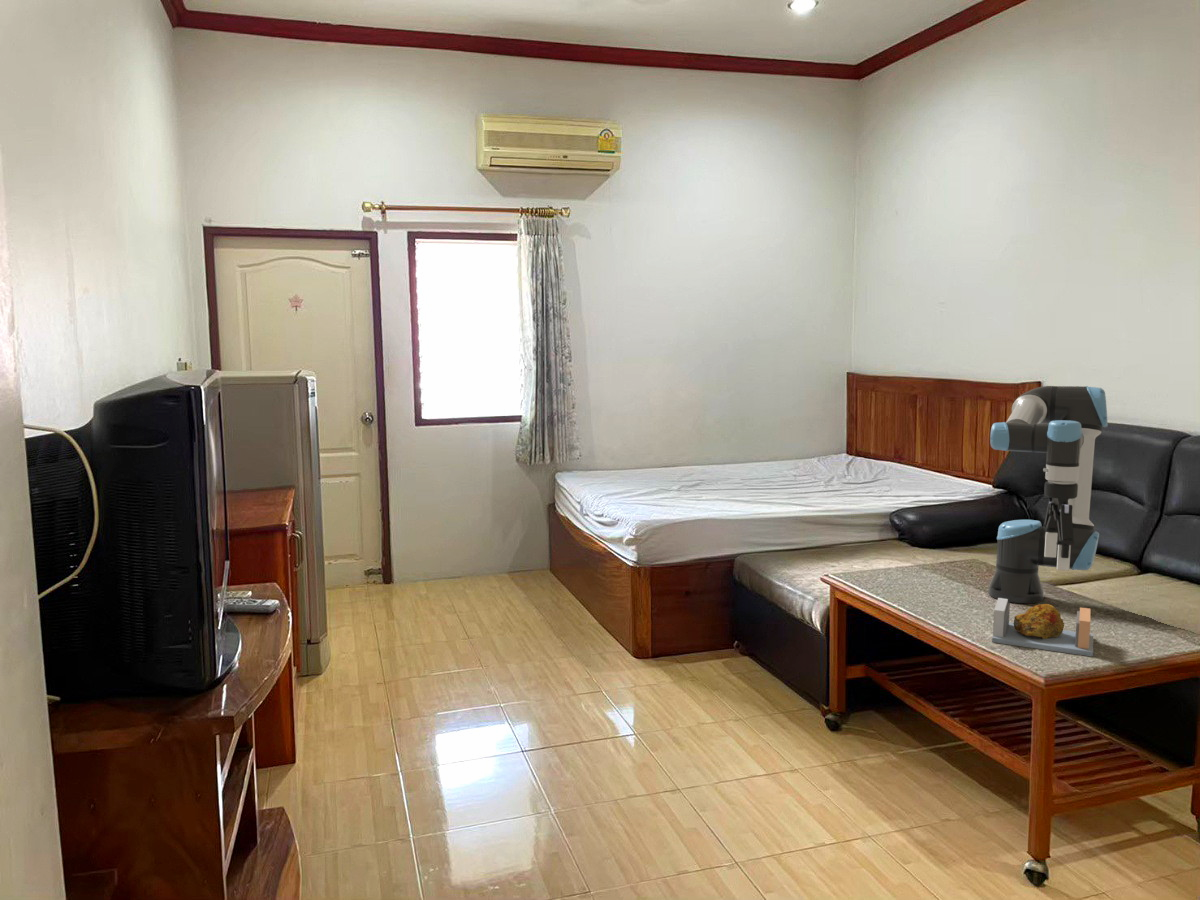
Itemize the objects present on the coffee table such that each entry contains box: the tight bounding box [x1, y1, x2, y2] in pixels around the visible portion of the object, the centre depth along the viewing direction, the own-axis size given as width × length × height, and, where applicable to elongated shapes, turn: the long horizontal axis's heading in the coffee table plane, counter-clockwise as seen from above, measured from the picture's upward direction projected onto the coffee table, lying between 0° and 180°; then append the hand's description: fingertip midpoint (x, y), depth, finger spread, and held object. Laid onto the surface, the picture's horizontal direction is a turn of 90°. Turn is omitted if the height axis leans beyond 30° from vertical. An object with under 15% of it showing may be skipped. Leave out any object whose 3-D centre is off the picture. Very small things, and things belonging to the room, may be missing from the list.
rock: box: [1013, 603, 1065, 639], centre depth 235 cm, size 11×8×10 cm
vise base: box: [991, 598, 1094, 657], centre depth 233 cm, size 15×23×8 cm, turn 62°
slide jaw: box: [1075, 607, 1091, 649], centre depth 229 cm, size 12×3×7 cm, turn 152°
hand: (1056, 563), depth 230 cm, fingers open, 13 cm apart
